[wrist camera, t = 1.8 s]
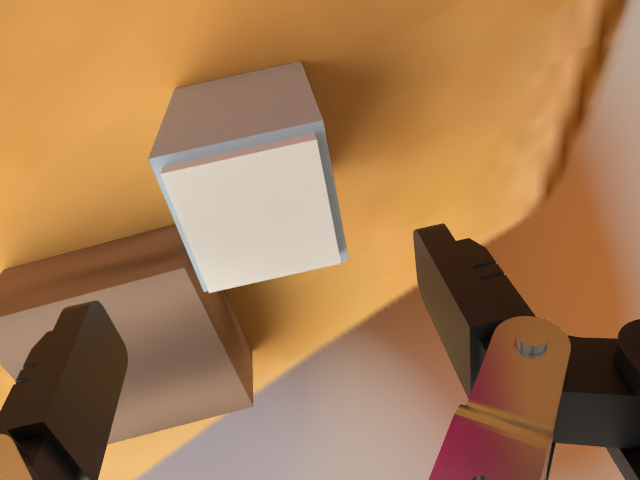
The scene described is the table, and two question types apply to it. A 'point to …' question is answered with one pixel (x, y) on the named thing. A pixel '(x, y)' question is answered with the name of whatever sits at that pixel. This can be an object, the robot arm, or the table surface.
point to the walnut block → (138, 327)
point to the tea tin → (250, 178)
